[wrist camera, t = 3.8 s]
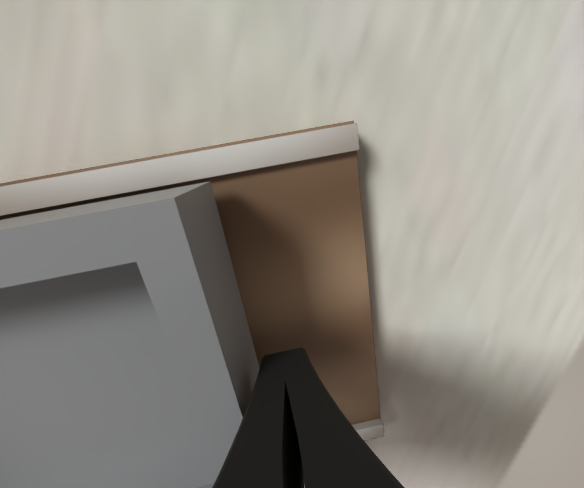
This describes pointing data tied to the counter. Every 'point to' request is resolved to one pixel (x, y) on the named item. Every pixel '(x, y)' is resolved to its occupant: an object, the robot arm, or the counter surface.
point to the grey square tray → (121, 344)
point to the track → (267, 243)
